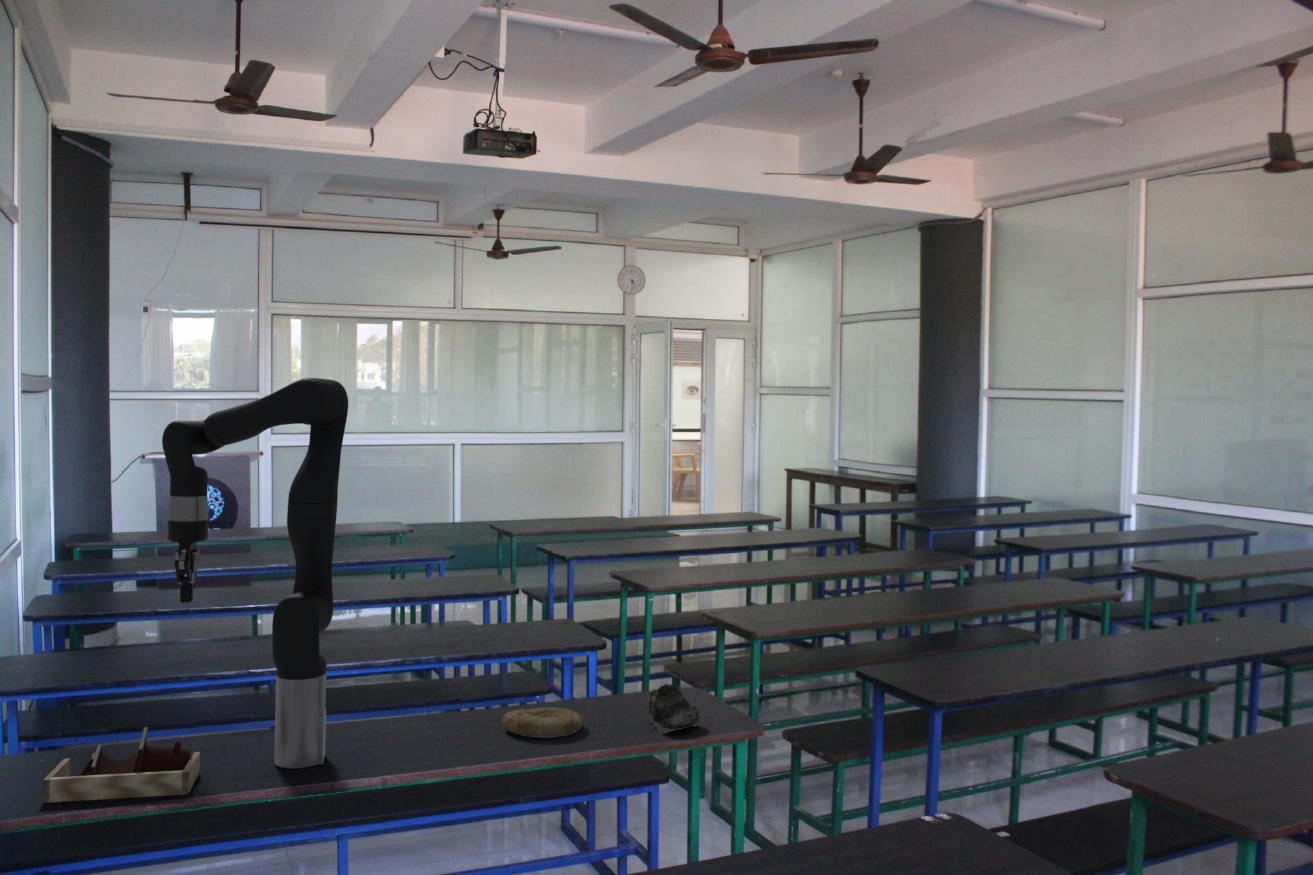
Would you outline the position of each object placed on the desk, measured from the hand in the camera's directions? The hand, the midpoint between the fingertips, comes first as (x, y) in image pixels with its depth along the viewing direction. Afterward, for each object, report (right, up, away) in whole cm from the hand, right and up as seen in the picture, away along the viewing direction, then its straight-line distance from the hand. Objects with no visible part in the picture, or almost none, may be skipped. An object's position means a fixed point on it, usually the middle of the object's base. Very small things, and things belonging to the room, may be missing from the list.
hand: (186, 601), depth 206 cm
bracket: (+2, -30, -23) cm, 38 cm away
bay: (0, -29, -25) cm, 38 cm away
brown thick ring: (+72, -31, +15) cm, 80 cm away
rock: (+100, -32, +21) cm, 107 cm away
